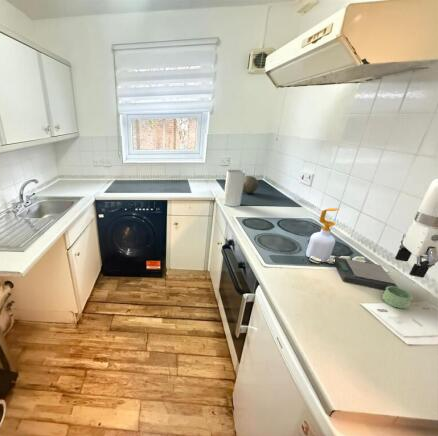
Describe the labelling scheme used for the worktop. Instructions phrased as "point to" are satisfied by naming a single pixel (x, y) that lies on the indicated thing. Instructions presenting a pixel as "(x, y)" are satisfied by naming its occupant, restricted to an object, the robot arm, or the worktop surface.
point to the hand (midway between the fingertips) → (408, 267)
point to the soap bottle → (322, 240)
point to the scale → (363, 273)
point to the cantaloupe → (250, 184)
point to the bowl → (397, 297)
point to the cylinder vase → (233, 187)
